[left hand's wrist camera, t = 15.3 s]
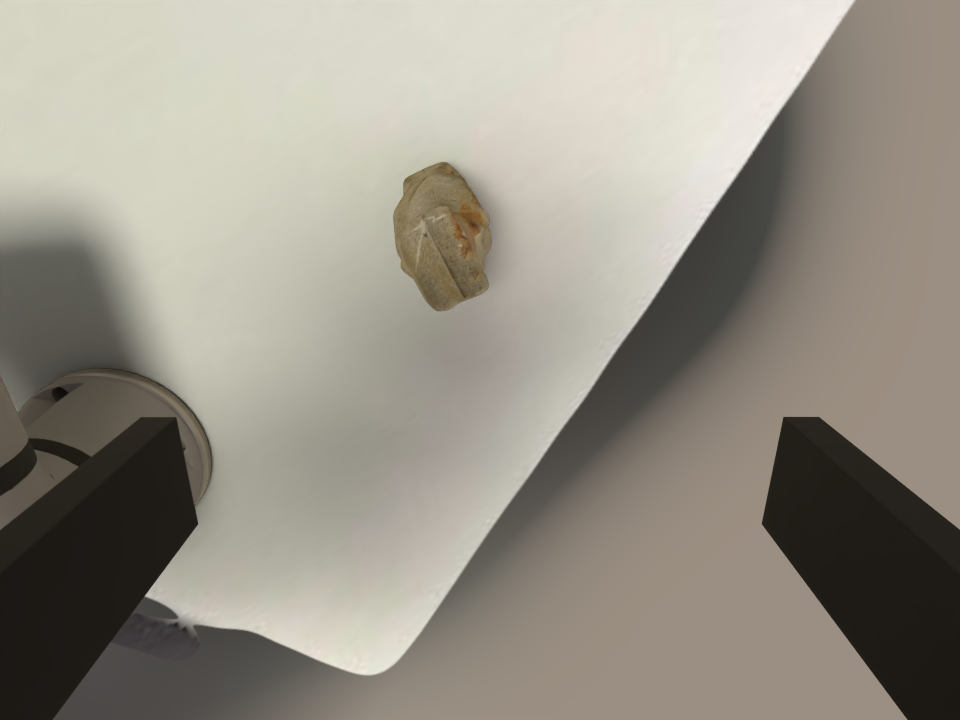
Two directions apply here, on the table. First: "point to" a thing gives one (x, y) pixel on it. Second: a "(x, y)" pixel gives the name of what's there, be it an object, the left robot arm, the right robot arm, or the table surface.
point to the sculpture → (442, 236)
